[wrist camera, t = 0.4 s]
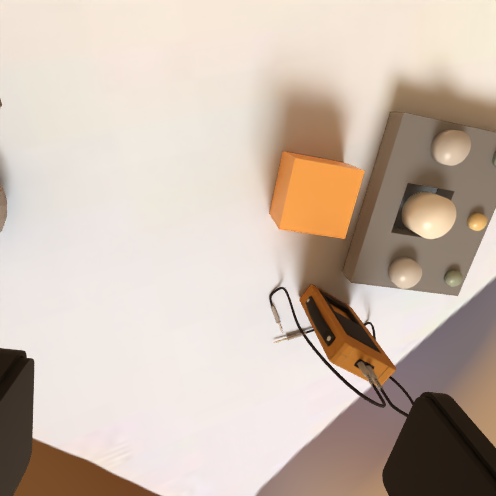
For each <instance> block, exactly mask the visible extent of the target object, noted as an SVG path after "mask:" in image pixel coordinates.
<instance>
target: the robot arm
mask: <svg viewBox="0 0 496 496" xmlns="http://www.w3.org/2000/svg"><path fill="white" fill-rule="evenodd" d="M33 394H34V360H33V359H31V358H27V356H26V352H25V351H22V350H12V349H3V348H0V496H13V495H14V493H15V491H16V489H17V487H18V485H19V483H20V481H21V479H22V477H23V475H24V473H25V471H26V469H27V466H28V463H29V460H30V457H31V453H32V429H33ZM382 476H383V483H384V486H385V488H386V491H387V493H388V495H389V496H496V448H495V447H494V446H493V444H492V443H491V442H490V441H489V440H488V439H487V438H486V436H485V435H484V434H483V433H482V432H481V431H480V430H479V428H478V427H477V426H476V425H475V424H474V423H473V421H472V420H471V419H470V418H469V417H468V416H467V414H466V413H465V412H464V411H463V410H462V409H461V408H460V406H459V405H458V404H457V403H456V402H455V401H454V399H453V398H451V397H450V396H449V395H447V394H443V393H433V392H425V393H423V394H421V396H420V397H418V398H417V399H416V400H415V402H414V404H413V406H412V408H411V410H410V412H409V415H408V417H407V419H406V422H405V423H404V426H403V428H402V430H401V432H400V434H399V436H398V439H397V441H396V443H395V445H394V447H393V450H392V452H391V454H390V456H389V458H388V461H387V463H386V465H385V467H384V469H383V475H382Z"/></svg>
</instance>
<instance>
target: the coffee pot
mask: <svg viewBox="0 0 496 496" xmlns="http://www.w3.org/2000/svg"><path fill="white" fill-rule="evenodd" d="M1 106H2V103H1V100H0V107H1ZM6 217H7V200H6V197H5V193H4V189H3V187H2V185H1V184H0V232H1V231H2V229H3V226H4V223H5V221H6Z"/></svg>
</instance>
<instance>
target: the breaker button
mask: <svg viewBox="0 0 496 496" xmlns="http://www.w3.org/2000/svg"><path fill="white" fill-rule="evenodd" d="M401 219H402V222H403V224H404V225H405V226H406V227H407V228H408V229H410V230H412V231H413V232H415V233H417V234H418V235H420V236H422V237H423V238H426V239H436V238H439V237H441V236H443V235H444V234H446V233H447V232H448V231H449V230H450V229H451V228H452V226H453V224H454V222H455V220H456V208H455V205H454V204H453V202H452V201H451V200H449V199H447V198H444V197H442V196H439V195H437V194H434V193H431V192H428V191H421V192H418V193H415V194H413V195H412V196H411V197H409V198H408V199H407V201H406V202H405V203H404V205H403V207H402V211H401Z"/></svg>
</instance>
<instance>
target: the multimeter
mask: <svg viewBox="0 0 496 496" xmlns="http://www.w3.org/2000/svg"><path fill="white" fill-rule="evenodd" d="M280 289H283V290H284V291H285V292H286V294H287V297H288V300H289V303H290V306H291V309H292V313H293V316H294V319H295V322H296V324H297V326H298V328H299V330H300V332H301V333H297V334H294V335H291V336H287V338H285V339H282V340H278V341H276V342H274V343H277V342H280V341H283V340H286V339H288V340H290V339H293V338H296V337H300V336H304V338H305V339H306V341H307V342H308V343H309V345H310V346H311V347H312V349H313V350H314V351H315V352H316V353H317V355H318V356H319V357H320V358H321V359H322V361H323V362H324V363H325V364H326V365H327V366H328V367H329V368H330V369H331V370H332V371H333V372H334V373H335V374H336V375H337V376H338V377H339V378H340V379H341V380H342V381H343V382H344V383H345V384H346V385H347V386H348V387H349V388H351V389H352V390H353V391H354V392H356V393H357V394H358V395H359V396H361V397H362V398H364V399H365V400H367V401H369V402H370V403H372V404H374V405H376V406H379V407H382V408H384V407H385V406H386V404H385V401H384V399H383V398H382V396H381V394H380V393H379V391H378V390H377V388H376V386H377V387H378V388H379V390H381V392H382V393H383V395H384V397H385V398H386V400H387V401H388V403H389V404H390V406H391V407H392V408H393V409H395V410H396V411H398V412H399V413H401V414H403V415H404V416H406V417H408V414H407V413H405V412H403V411H401V410H400V409H398V408H397V407H395V406H394V405H393V404H392V403H391V401H390V400H389V398H388V396H387V395H386V393H385V392H384V390H383V387H382V385H383V384H384V383H385V381H386V380H387V379H388V378H390V379H391V380H392V381H393V382H394V383H396V384H397V385H398V386H399V387H400V388H401V389H402V390H403V392H404V393H405V394H406V395H407V397H408V398H409V400H410V401H411V403H412V405H413V404H414V402H413V400H412V399H411V397H410V396H409V395H408V393H407V392H406V391H405V389H404V388H403V387H402V386H401V385H400V384H399V383H398V382H397V381H396V380H395V379H394V378H392V377H391V375H392V374H393V373H394V372H395V371H396V367H395V366H394V365H393V363H392V362H391V360H390V359H389V358H388V356H387V355H386V354H385V352H384V351H383V350H382V348H381V347H380V346H379V344H378V343H377V341H376V337H375V330H374V326H373V325H372V323H371V322H367V323H365V324H363V323H362V321H361V320H360V319H359V317H358V316H357V315H356V313H355V312H354V311H353V309H352V308H351V307H350V306H349V305H347V304H345V303H343V302H341V301H340V300H338V299H336V298H334V297H333V296H331V295H329V294H328V293H326V292H324V291H322V290H321V289H319V288H318V287H316V286H314V285H310V286H309V288H308V289H307V290H306V292H305V293H304V294H303V296H302V297H301V298H300V302H301V304H302V306H303V308H304V310H305V312H306V315H307V317H308V319H309V321H310V323H311V325H312V327H313V329H312V330H309V331H307V332H303V330H302V329H301V327H300V325H299V323H298V321H297V318H296V315H295V312H294V309H293V306H292V303H291V299H290V297H289V294H288V292H287V290H286V289H285V288H284V287H279V288H278V289H276V290H275V291H273V292H272V293H271V295H270V298H269V299H270V303H271V309H272V311H273V314H274V317H275V319H276V323H278V324H279V327H280V329H281V332H282V333H283V330H282V328H281V325H280V322H281V321H280V320H279V317H278V314H277V312H276V309H275V307H274V305H273V304H272V301H271V297H272V295H273V294H274V293H275V292H276V291H278V290H280ZM367 324H371V326H372V330H373V336H372V335H371V333H370V332H369V331H368V329H367V328H366V327H365V326H366V325H367ZM312 331H315V333H316V335H317V337H318V339H319V341H320V343H321V345H322V347H323V349H324V351H325V353H326V355H327V357H328V359H329V361H330V362H332V363H333V364H335V365H337V366H339V367H341V368H343V369H345V370H347V371H349V372H351V373H353V374H355V375H357V376H359V377H361V378H363V379H365V380H367V381H369V383H370V384H371V386H373V388H374V390H375V391H376V393H377V394H378V396H379V398H380V399H381V401H382V403H383V404H379V403H377V402H375V401H373V400H371V399H370V398H368V397H366V396H365V395H363V394H362V393H361V392H359V391H358V390H357V389H356V388H354V387H353V386H352V385H351V384H350V383H348V382H347V381H346V380H345V379H344V378H343V377H342V376H341V375H340V374H339V373H338V372H337V371H336V370H335V369H334V368H333V367H332V366H331V365H330V364H329V363H328V362H327V361H326V360H325V358H324V357H323V356H322V355H321V354H320V353H319V352H318V350H317V349H316V348H315V347H314V346H313V344H312V343H311V342H310V340H309V339H308V338H307V336H306V335H305V334H307V333H309V332H312ZM375 385H376V386H375Z"/></svg>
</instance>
